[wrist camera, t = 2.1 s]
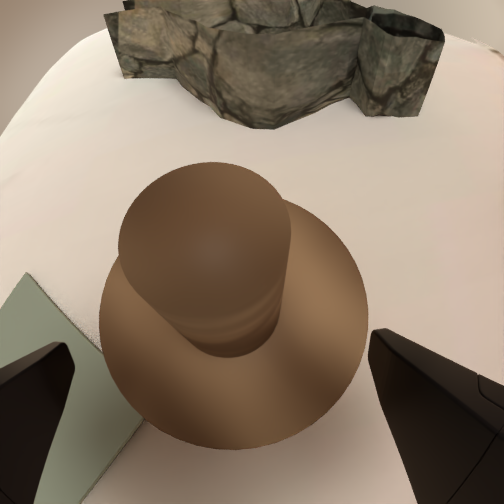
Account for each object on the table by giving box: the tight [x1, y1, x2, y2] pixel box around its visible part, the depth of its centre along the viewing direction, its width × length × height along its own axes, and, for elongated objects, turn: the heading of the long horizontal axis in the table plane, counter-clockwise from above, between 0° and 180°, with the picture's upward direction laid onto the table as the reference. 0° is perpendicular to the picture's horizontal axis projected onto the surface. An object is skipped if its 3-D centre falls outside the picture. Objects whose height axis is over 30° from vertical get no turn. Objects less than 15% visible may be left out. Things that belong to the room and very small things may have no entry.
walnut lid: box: [99, 162, 368, 450], centre depth 12 cm, size 13×13×8 cm
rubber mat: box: [0, 272, 144, 504], centre depth 17 cm, size 15×15×1 cm
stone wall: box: [104, 0, 445, 129], centre depth 28 cm, size 35×19×10 cm, turn 76°
